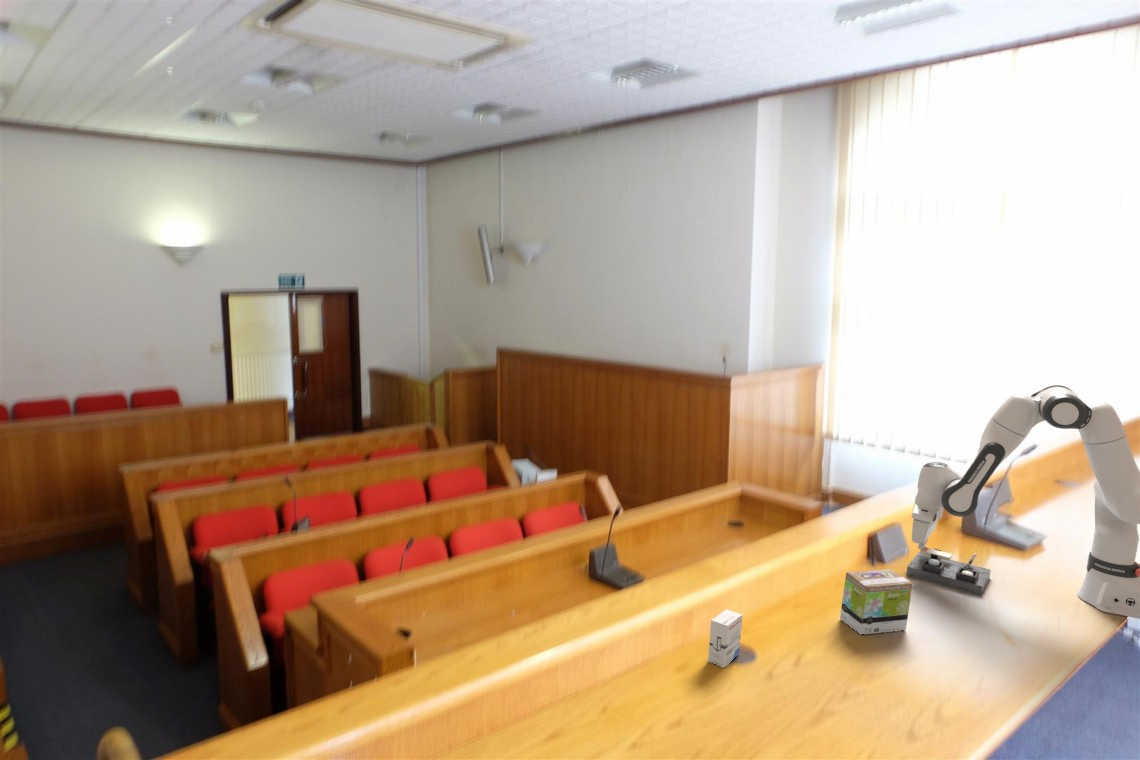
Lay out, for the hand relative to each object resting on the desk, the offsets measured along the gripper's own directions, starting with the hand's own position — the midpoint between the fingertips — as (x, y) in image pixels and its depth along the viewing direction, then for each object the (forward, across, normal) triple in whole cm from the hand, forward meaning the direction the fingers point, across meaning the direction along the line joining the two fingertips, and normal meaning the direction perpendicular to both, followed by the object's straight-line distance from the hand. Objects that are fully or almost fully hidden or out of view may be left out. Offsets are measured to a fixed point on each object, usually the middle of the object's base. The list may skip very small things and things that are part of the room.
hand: (921, 548), depth 257 cm
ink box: (+8, +98, -25) cm, 101 cm away
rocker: (+2, 0, +5) cm, 5 cm away
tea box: (+7, +54, 0) cm, 54 cm away
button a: (+2, +8, +16) cm, 18 cm away
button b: (+1, +8, +6) cm, 10 cm away
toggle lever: (+1, 0, +15) cm, 15 cm away
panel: (+6, +4, +10) cm, 12 cm away
